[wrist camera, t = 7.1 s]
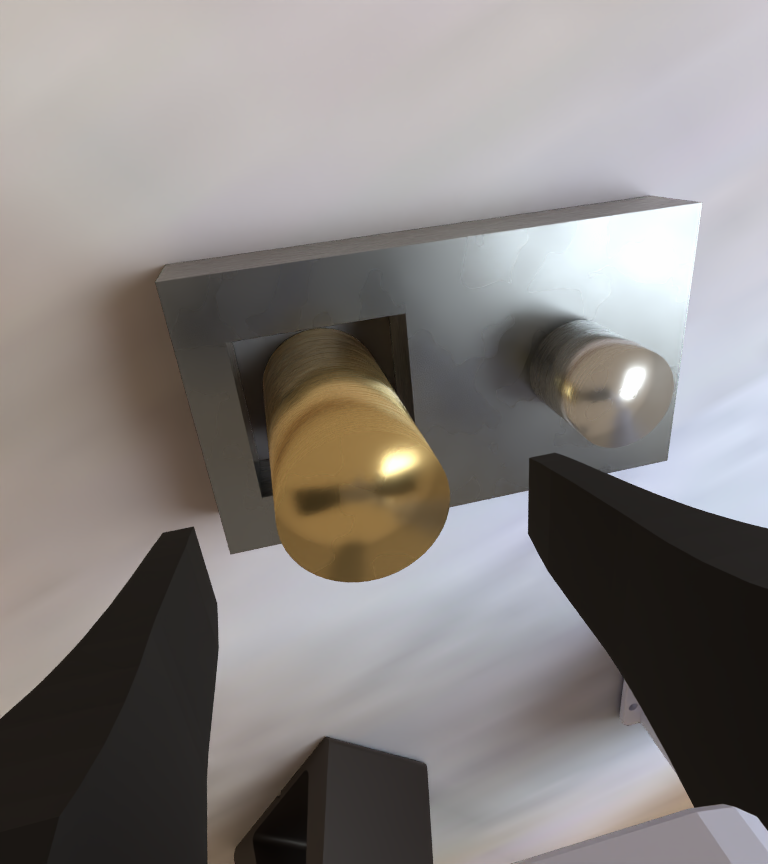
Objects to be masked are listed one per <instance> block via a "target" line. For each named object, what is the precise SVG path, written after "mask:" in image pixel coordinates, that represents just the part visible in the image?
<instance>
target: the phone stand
mask: <svg viewBox="0 0 768 864" xmlns="http://www.w3.org/2000/svg"><path fill="white" fill-rule="evenodd" d="M234 862H235V864H433V853H432V837H431V821H430V805H429V789H428V773H427V766H426V764H425V763H422V762H418V761H415V760H411V759H407V758H403V757H400V756H396V755H392V754H388V753H385V752H381V751H377V750H373V749H370V748H366V747H362V746H358V745H355V744H351V743H347V742H343V741H340V740H336V739H332V738H328V737H325V738H324V739H323V740H322V741H321V743H320V744H319V745H318V746H317V747H316V749H315V750H314V751H313V752H312V754H311V755H310V756H309V757H308V759H307V760H306V761H305V762H304V764H303V765H302V766H301V767H300V769H299V770H298V771H297V772H296V774H295V775H294V776H293V777H292V779H291V780H290V781H289V782H288V784H287V785H286V786H285V787H284V789H283V790H282V791H281V795H280V797H278V796H277V797H276V798H275V800H274V801H273V802H272V803H271V805H270V806H269V807H268V808H267V810H266V811H265V812H264V813H263V815H262V816H261V817H260V818H259V820H258V821H257V822H256V823H255V825H254V826H253V827H252V828H251V830H250V831H249V832H248V833H247V835H246V836H245V837H244V838H243V839H242V841H241V842H240V843H239V844H238V846H237V847H236V850H235V853H234Z"/></svg>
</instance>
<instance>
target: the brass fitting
mask: <svg viewBox="0 0 768 864" xmlns="http://www.w3.org/2000/svg"><path fill="white" fill-rule="evenodd" d="M263 396H264V406H265V417H266V427H267V437H268V448H269V458H270V468H271V478H272V489H273V499H274V509H275V520H276V527H277V532H278V535H279V538H280V540H281V543H282V545H283V546H284V548H285V550H286V551H287V553H288V554H289V555H290V556H291V558H292V559H293V560H294V561H295V562H297V563H298V564H299V565H300V566H301V567H303V568H304V569H306V570H307V571H309V572H311V573H313V574H315V575H317V576H320V577H323V578H325V579H329V580H334V581H340V582H364V581H371V580H375V579H380V578H383V577H386V576H389V575H391V574H394V573H396V572H398V571H400V570H402V569H404V568H405V567H407V566H409V565H410V564H412V563H413V562H415V561H416V560H417V559H418V558H420V557H421V556H422V555H423V554H424V553H425V552H426V551H427V550H428V549H429V548H430V547H431V546H432V544H433V543H434V542H435V540H436V539H437V537H438V536H439V534H440V532H441V531H442V529H443V527H444V524H445V522H446V519H447V515H448V511H449V505H450V489H449V484H448V479H447V477H446V474H445V471H444V470H443V468H442V466H441V464H440V462H439V461H438V459H437V458H436V456H435V454H434V453H433V451H432V450H431V448H430V447H429V445H428V443H427V442H426V440H425V439H424V437H423V435H422V434H421V432H420V431H419V429H418V427H417V426H416V424H415V423H414V421H413V420H412V418H411V416H410V415H409V413H408V412H407V410H406V408H405V407H404V405H403V404H402V402H401V400H400V399H399V397H398V396H397V394H396V393H395V391H394V389H393V388H392V386H391V385H390V383H389V381H388V380H387V378H386V377H385V375H384V374H383V372H382V370H381V369H380V367H379V366H378V364H377V362H376V361H375V359H374V358H373V356H372V354H371V353H370V352H369V350H368V349H367V348H366V347H365V346H364V345H363V344H362V343H361V342H360V341H359V340H358V339H356V338H355V337H353V336H351V335H350V334H348V333H345V332H343V331H339V330H335V329H328V328H317V329H310V330H306V331H303V332H300V333H298V334H296V335H294V336H292V337H290V338H289V339H287V340H286V341H285V342H283V343H282V344H281V345H280V346H279V347H278V348H277V349H276V350H275V352H274V353H273V354H272V356H271V357H270V359H269V361H268V363H267V365H266V368H265V372H264V376H263Z"/></svg>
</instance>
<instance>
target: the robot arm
mask: <svg viewBox="0 0 768 864" xmlns="http://www.w3.org/2000/svg"><path fill="white" fill-rule="evenodd" d="M528 534H529V536H530V538H531V540H532V542H533V544H534V546H535V548H536V550H537V552H538V554H539V556H540V558H541V559H542V561H543V563H544V565H545V567H546V568H547V570H548V572H549V573H550V575H551V576H552V577H553V579H554V580H555V582H556V583H557V584H558V586H559V587H560V589H561V590H562V591H563V593H564V594H565V595H566V597H567V598H568V600H569V601H570V602H571V604H572V605H573V606H574V608H575V609H576V610H577V612H578V613H579V615H580V616H581V617H582V619H583V620H584V621H585V623H586V624H587V625H588V627H589V628H590V629H591V631H592V632H593V634H594V635H595V636H596V638H597V639H598V640H599V642H600V643H601V644H602V646H603V647H604V648H605V650H606V651H607V653H608V654H609V656H610V657H611V659H612V660H613V662H614V663H615V665H616V666H617V668H618V669H619V671H620V673H621V674H622V676H623V678H624V683H623V691H622V700H621V708H620V716H619V717H620V720H621V721H622V723H623V724H624V725H633V724H636V723H640V722H641V723H642V725H643V726H644V728H645V729H646V731H647V732H648V733H649V735H650V736H651V738H652V739H653V741H654V742H655V744H656V745H657V746H658V748H659V749H660V751H661V752H662V754H663V755H664V757H665V758H666V759H667V761H668V762H669V764H670V765H671V767H672V768H673V770H674V771H675V772H676V774H677V775H678V777H679V779H680V781H681V783H682V785H683V787H684V788H685V790H686V792H687V794H688V796H689V798H690V800H691V802H692V804H693V806H694V808H689V809H686V810H683V811H680V812H676V813H673V814H670V815H667V816H664V817H660V818H657V819H654V820H651V821H647V822H644V823H641V824H638V825H634V826H631V827H628V828H625V829H622V830H618V831H615V832H612V833H609V834H605V835H602V836H599V837H596V838H593V839H589V840H586V841H583V842H580V843H576V844H573V845H570V846H567V847H563V848H560V849H557V850H554V851H551V852H547V853H544V854H541V855H538V856H534V857H531V858H528V859H525V860H521V861H518V862H515V863H512V864H768V528H763V527H759V526H755V525H751V524H747V523H743V522H740V521H736V520H733V519H729V518H726V517H722V516H719V515H715V514H712V513H709V512H705V511H702V510H699V509H696V508H693V507H690V506H687V505H684V504H682V503H679V502H676V501H673V500H671V499H668V498H665V497H662V496H660V495H657V494H655V493H652V492H650V491H647V490H645V489H642V488H640V487H637V486H635V485H632V484H630V483H628V482H625V481H623V480H621V479H618V478H616V477H614V476H611V475H609V474H607V473H604V472H602V471H600V470H597V469H595V468H593V467H591V466H588V465H586V464H584V463H581V462H579V461H577V460H574V459H572V458H569V457H567V456H564V455H561V454H558V453H550V454H545V455H540V456H535V457H531V458H529V502H528ZM218 649H219V645H218V613H217V602H216V598H215V595H214V592H213V588H212V585H211V582H210V579H209V575H208V572H207V569H206V565H205V562H204V559H203V556H202V552H201V549H200V546H199V542H198V539H197V536H196V533H195V529H194V527H189V528H185V529H180V530H175V531H170V532H165V533H162V535H161V536H160V538H159V539H158V540H157V542H156V543H155V544H154V546H153V547H152V548H151V550H150V551H149V553H148V554H147V555H146V557H145V558H144V560H143V561H142V563H141V564H140V565H139V567H138V568H137V570H136V571H135V572H134V574H133V575H132V577H131V578H130V579H129V581H128V582H127V583H126V585H125V586H124V587H123V589H122V590H121V591H120V593H119V594H118V595H117V597H116V598H115V600H114V601H113V602H112V604H111V605H110V606H109V607H108V609H107V610H106V611H105V612H104V613H103V615H102V616H101V617H100V618H99V619H98V621H97V622H96V623H95V624H94V626H93V627H92V628H91V629H90V630H89V632H88V633H87V634H86V635H85V636H84V638H83V639H82V640H81V641H80V642H79V643H78V644H77V645H76V647H75V648H74V649H73V650H72V651H71V652H70V653H69V654H68V655H67V656H66V657H65V658H64V659H63V661H62V662H61V663H60V664H59V665H58V666H57V667H56V668H55V669H54V670H53V671H52V672H51V673H50V674H49V675H48V676H47V677H46V678H45V679H44V680H43V681H42V682H41V683H40V684H39V685H38V686H36V687H35V688H34V689H33V690H32V691H31V692H30V693H29V694H28V695H27V696H25V697H24V698H23V699H22V700H21V701H20V702H19V703H18V704H17V705H15V706H14V707H13V708H12V709H11V710H10V711H9V712H8V713H6V714H5V715H4V716H3V717H2V718H1V719H0V864H207V767H208V751H209V741H210V731H211V721H212V712H213V702H214V692H215V682H216V671H217V661H218Z"/></svg>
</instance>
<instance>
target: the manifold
mask: <svg viewBox="0 0 768 864" xmlns="http://www.w3.org/2000/svg"><path fill="white" fill-rule="evenodd" d="M701 209H702V202H695V201H687V200H680V199H672V198H665V197H657V196H646V197H639V198H632V199H625V200H618V201H611V202H604V203H597V204H590V205H583V206H576V207H569V208H562V209H555V210H548V211H541V212H534V213H527V214H519V215H512V216H505V217H498V218H491V219H484V220H477V221H470V222H463V223H456V224H449V225H442V226H435V227H428V228H421V229H414V230H407V231H400V232H393V233H385V234H378V235H371V236H364V237H357V238H350V239H343V240H336V241H329V242H322V243H315V244H308V245H301V246H294V247H287V248H280V249H273V250H266V251H259V252H251V253H244V254H237V255H230V256H223V257H216V258H209V259H202V260H195V261H188V262H181V263H174V264H167V265H165V266H164V268H163V270H162V271H161V273H160V275H159V277H158V278H157V280H156V282H155V283H156V287H157V290H158V294H159V298H160V301H161V305H162V308H163V312H164V316H165V319H166V323H167V327H168V330H169V334H170V337H171V341H172V345H173V348H174V352H175V355H176V359H177V363H178V366H179V370H180V373H181V377H182V381H183V384H184V388H185V392H186V395H187V399H188V402H189V406H190V410H191V413H192V417H193V420H194V424H195V428H196V431H197V435H198V438H199V442H200V446H201V449H202V453H203V457H204V460H205V464H206V467H207V471H208V475H209V478H210V482H211V485H212V489H213V493H214V496H215V500H216V503H217V507H218V511H219V514H220V518H221V522H222V525H223V529H224V532H225V536H226V540H227V543H228V547H229V550H230V554H235V553H240V552H244V551H249V550H254V549H258V548H263V547H268V546H272V545H277V544H282V543H281V540H280V538H279V535H278V532H277V527H276V520H275V509H274V499H273V489H272V478H271V468H270V459H267V460H262V461H259V457H258V453H257V448H256V444H255V440H254V435H253V431H252V426H251V422H250V418H249V413H248V409H247V404H246V400H245V396H244V391H243V387H242V383H241V378H240V374H239V369H238V365H237V361H236V356H235V352H234V347H233V343H232V342H233V341H239V340H245V339H251V338H258V337H264V336H270V335H276V334H282V333H288V332H294V331H300V330H307V329H313V328H319V327H325V326H331V325H337V324H343V323H350V322H356V321H362V320H368V319H374V318H380V317H386V316H389V321H390V331H391V341H392V351H393V361H394V371H395V381H396V391H397V396H398V397H399V399H400V400H401V402H402V404H403V405H404V407H405V408H406V410H407V412H408V413H409V415H410V416H411V418H412V420H413V421H414V423H415V424H416V426H417V427H418V429H419V431H420V432H421V434H422V435H423V437H424V439H425V440H426V442H427V443H428V445H429V447H430V448H431V450H432V451H433V453H434V454H435V456H436V458H437V459H438V461H439V462H440V464H441V466H442V468H443V470H444V471H445V474H446V477H447V479H448V484H449V489H450V505H449V507H453V506H458V505H463V504H467V503H472V502H477V501H481V500H486V499H491V498H495V497H500V496H504V495H509V494H514V493H518V492H523V491H528V490H529V458H531V457H535V456H540V455H545V454H550V453H558V454H561V455H564V456H567V457H569V458H572V459H574V460H577V461H579V462H581V463H584V464H586V465H588V466H591V467H593V468H595V469H597V470H600V471H602V472H604V473H611V472H616V471H621V470H625V469H630V468H634V467H639V466H644V465H648V464H653V463H658V462H662V461H667V458H668V451H669V444H670V436H671V429H672V422H673V414H674V407H675V400H676V392H677V385H678V378H679V370H680V363H681V356H682V348H683V341H684V334H685V326H686V319H687V312H688V304H689V297H690V290H691V282H692V275H693V268H694V260H695V253H696V245H697V238H698V231H699V223H700V216H701Z"/></svg>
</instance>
